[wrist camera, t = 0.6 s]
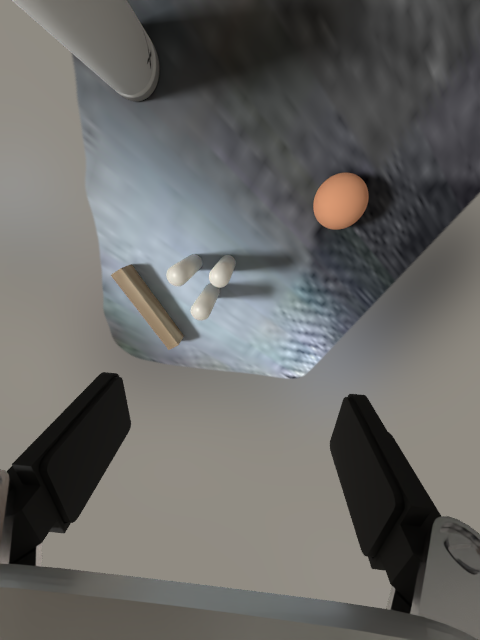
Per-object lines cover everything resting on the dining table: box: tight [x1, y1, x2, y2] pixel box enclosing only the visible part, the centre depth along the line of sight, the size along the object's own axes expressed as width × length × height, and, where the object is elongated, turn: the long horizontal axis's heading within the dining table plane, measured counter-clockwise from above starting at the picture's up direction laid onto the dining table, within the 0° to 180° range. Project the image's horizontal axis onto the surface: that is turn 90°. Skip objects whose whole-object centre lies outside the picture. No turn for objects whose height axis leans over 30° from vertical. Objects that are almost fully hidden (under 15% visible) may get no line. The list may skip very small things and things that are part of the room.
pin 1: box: [167, 254, 202, 286], centre depth 31 cm, size 2×2×8 cm
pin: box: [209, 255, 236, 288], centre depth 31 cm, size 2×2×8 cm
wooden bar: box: [111, 264, 184, 350], centre depth 37 cm, size 2×14×3 cm, turn 30°
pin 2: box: [191, 284, 220, 320], centre depth 33 cm, size 2×2×8 cm
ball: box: [313, 173, 369, 229], centre depth 28 cm, size 6×6×6 cm
